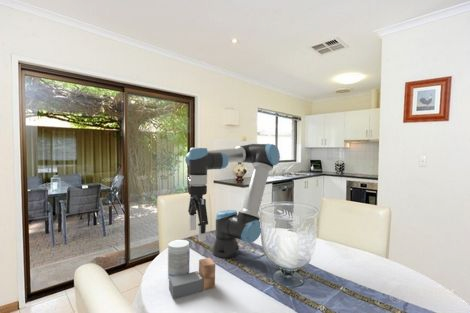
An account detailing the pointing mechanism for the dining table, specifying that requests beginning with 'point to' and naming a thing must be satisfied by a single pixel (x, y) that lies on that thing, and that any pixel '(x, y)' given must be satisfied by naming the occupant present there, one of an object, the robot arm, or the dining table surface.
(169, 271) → the supplement tub
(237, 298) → the dining table surface
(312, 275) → the dining table surface
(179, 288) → the grey long rectangular block
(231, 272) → the dining table surface
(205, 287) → the light brown wooden block
